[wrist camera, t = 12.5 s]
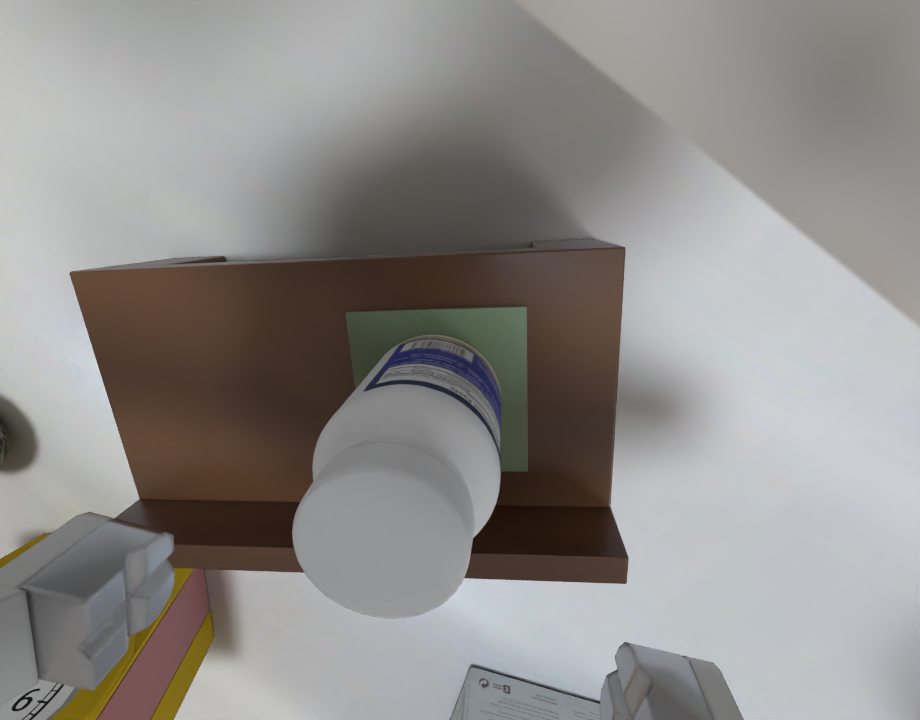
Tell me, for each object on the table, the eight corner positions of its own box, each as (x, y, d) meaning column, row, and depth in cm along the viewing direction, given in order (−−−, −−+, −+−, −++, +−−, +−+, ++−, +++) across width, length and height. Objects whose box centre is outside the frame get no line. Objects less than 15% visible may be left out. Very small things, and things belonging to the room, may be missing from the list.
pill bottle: (437, 475, 19) (384, 677, 11) (347, 391, 18) (214, 539, 10) (530, 397, 18) (551, 563, 9) (436, 303, 17) (367, 390, 9)
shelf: (171, 258, 24) (-14, 282, 15) (594, 238, 22) (652, 253, 13) (220, 457, 28) (91, 565, 19) (586, 459, 25) (626, 584, 17)
